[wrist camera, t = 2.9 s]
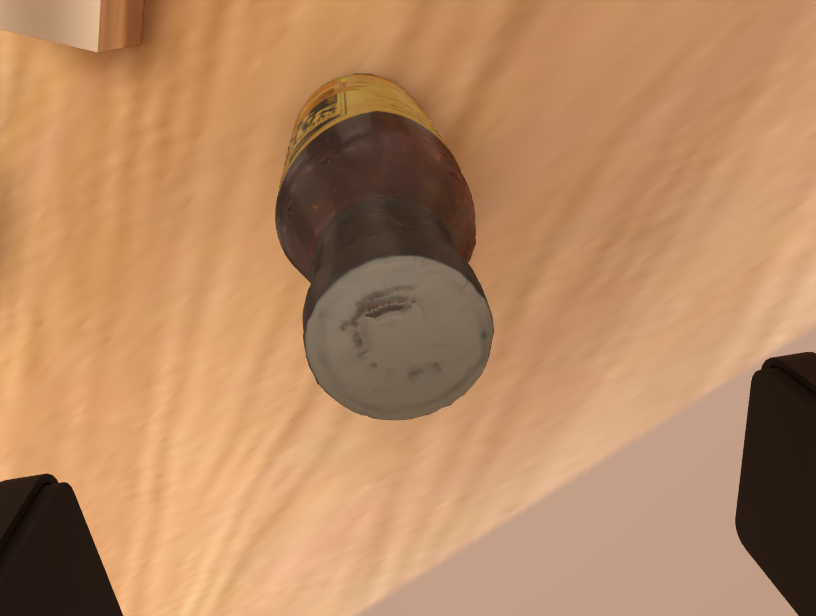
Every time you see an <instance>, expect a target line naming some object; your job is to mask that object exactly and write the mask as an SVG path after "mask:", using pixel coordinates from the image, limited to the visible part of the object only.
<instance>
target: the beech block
mask: <svg viewBox="0 0 816 616" xmlns="http://www.w3.org/2000/svg"><path fill="white" fill-rule="evenodd" d="M144 2H145V0H0V30H4V31H8V32H13V33H17V34H21V35H25V36H30V37H34V38H38V39H43V40H47V41H51V42H55V43H60V44H64V45H68V46H73V47H77V48H81V49H85V50H90V51H94V52H102V51H108V50H113V49H119V48H124V47H129V46H135V45H140V44H141V40H142V27H143V15H144Z"/></svg>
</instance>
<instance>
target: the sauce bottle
mask: <svg viewBox="0 0 816 616" xmlns="http://www.w3.org/2000/svg"><path fill="white" fill-rule="evenodd" d="M275 222H276V230H277V234H278V238H279V241H280V244H281V247H282V249H283V251H284V253H285V255H286V256H287V258H288V259H289V261H290V262H291V263H292V264H293V266H294V267H295V268H296V269H297V270H298V271H299V272H300V273H301V274H302V275H303V276H304V277H305V278H306V279H307V280H308V281H309V282H310V283H311V285H310V287H309V289H308V292H307V296H306V300H305V305H304V309H303V330H304V334H303V340H304V346H305V352H306V358H307V361H308V364H309V367H310V369H311V371H312V372H313V374H314V377H315V379H316V381H317V384H319V385H320V386H321V387H322V388H323V389H324V390H325V392H326V393H328V394H329V395H330V396H331V397H332V398H333V399H335V400H336V401H337V402H339V403H340V404H341V405H343V406H345V407H346V408H348V409H350V410H351V411H353V412H355V413H358V414H361V415H366V416H368V417H371V418H373V419H383V420H408V419H413V418H417V417H420V416H424V415H429V414H431V413H434V412H436V411H437V410H439V409H441V408H443V407H446V406H449V405H451V404H452V403H453V402H454V401H455V400H456V399H458V398H459V397H461V396H463V395H464V394H465V393H466V392H467V391H468V390H469V389H470V388H471V386H472V385H473V384H474V383H475V382H476V380H477V379H478V378H479V377H480V375H481V374H482V372H483V370H484V368H485V366H486V363H487V361H488V358H489V354H490V349H491V344H492V339H493V334H494V327H493V318H492V314H491V311H490V308H489V305H488V302H487V299H486V297H485V294H484V292H483V289H482V287H481V284H480V283H479V281H478V279H477V277H476V275H475V273H474V271H473V269H472V268H471V266H470V265H469V264H468V262H469V261H470V259H471V255H472V252H473V249H474V247H475V244H476V239H475V235H476V227H475V211H474V203H473V200H472V195H471V193H470V190H469V187H468V184H467V183H466V180H465V178H464V177H463V175H462V173H461V171H460V168H459V166H458V164H457V162H456V160H455V158H454V156H453V155H452V153H451V152H450V150H449V148H448V147H447V146H446V144H445V143H444V141H443V140H442V138H441V137H440V135H439V134H438V133H437V131H436V130H435V128H434V127H433V125H432V124H431V122H430V121H429V119H428V118H427V116H426V115H425V113H424V112H423V110H422V109H421V107H420V106H419V105H418V104H417V102H416V101H415V100H414V99H413V98H412V97H411V96H410V95H409V94H408V93H407V92H406V91H405V90H404V89H402V88H401V87H399V86H398V85H396V84H395V83H393V82H391V81H388V80H385V79H383V78H380V77H377V76H374V75H371V74H354V75H350V76H345V77H341V78H338V79H336V80H333V81H331V82H328V83H326V84H325V85H323V86H322V87H321V88H319V89H318V90H317V91H316V92H315V93H314V94H313V95H312V96H311V97H310V98H309V99H308V100H307V102H306V103H305V104H304V106H303V107H302V109H301V111H300V113H299V115H298V118H297V120H296V123H295V126H294V130H293V134H292V138H291V142H290V145H289V147H288V153H287V157H286V161H285V166H284V170H283V175H282V178H281V182H280V186H279V192H278V196H277V202H276V212H275Z"/></svg>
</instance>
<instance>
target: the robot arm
mask: <svg viewBox="0 0 816 616" xmlns="http://www.w3.org/2000/svg"><path fill="white" fill-rule="evenodd" d="M735 524H736V530H737V533H738V536H739V539H740V541H741V543H742V544H743V546H744V547H745V549H746V550H747V551H748V553H749V554H750V555H751V556H752V558H753V559H754V560H755V561H756V563H757V564H758V565H759V566H760V568H761V569H762V570H763V571H764V572H765V574H766V575H767V576H768V578H769V579H770V580H771V581H772V583H773V584H774V585H775V586H776V588H777V589H778V590H779V591H780V593H781V594H782V595H783V597H785V599H786V600H787V601H788V603H789V604H790V605H791V607H792V608H793V609H794V610H795V612H796V613H797V614H798V615H799V616H816V353H814V352H804V353H798V354H792V355H785V356H779V357H773V358H769V359H767V360H766V361H765V362H764V364H763V365H762V368H761V370H758V371H757V372H755V373H754V375H753V377H752V381H751V388H750V397H749V406H748V414H747V423H746V431H745V440H744V449H743V458H742V467H741V475H740V483H739V492H738V500H737V509H736V518H735ZM0 616H123V614H122V611H121V609H120V606H119V604H118V601H117V599H116V596H115V594H114V591H113V589H112V586H111V584H110V581H109V579H108V576H107V574H106V571H105V569H104V566H103V564H102V561H101V559H100V556H99V554H98V551H97V549H96V546H95V544H94V541H93V539H92V536H91V534H90V531H89V529H88V526H87V524H86V521H85V519H84V516H83V514H82V511H81V509H80V506H79V504H78V501H77V498H76V496H75V493H74V491H73V489H72V487H71V486H70V485H69V484H68V483H65V482H62V483H58V481H57V479H56V478H55V477H54V476H53V475H50V474H41V475H35V476H29V477H23V478H16V479H10V480H5V481H2V482H0Z"/></svg>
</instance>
